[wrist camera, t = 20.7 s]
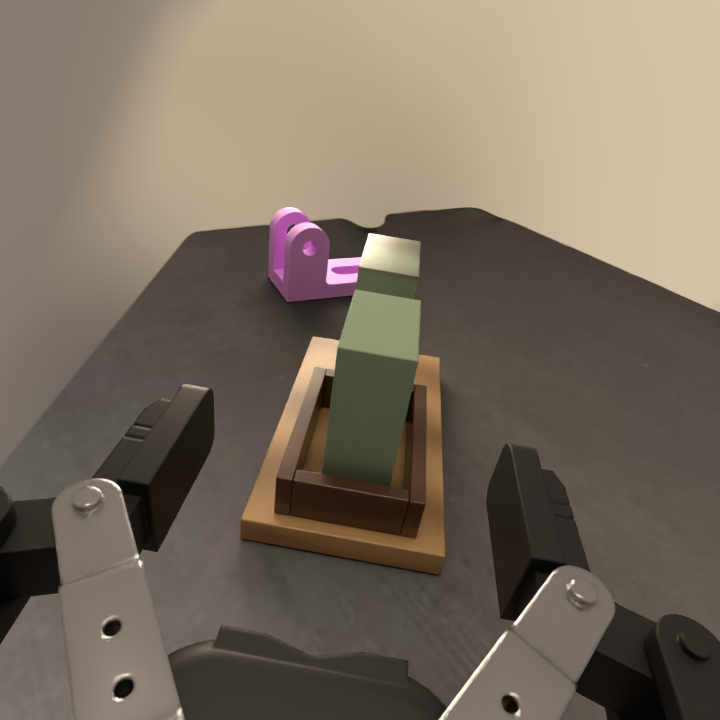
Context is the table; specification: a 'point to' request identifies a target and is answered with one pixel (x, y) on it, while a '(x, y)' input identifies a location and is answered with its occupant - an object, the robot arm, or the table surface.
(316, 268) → the bracket
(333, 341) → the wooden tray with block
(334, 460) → the green rectangular block
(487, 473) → the table surface
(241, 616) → the table surface
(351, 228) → the table surface
